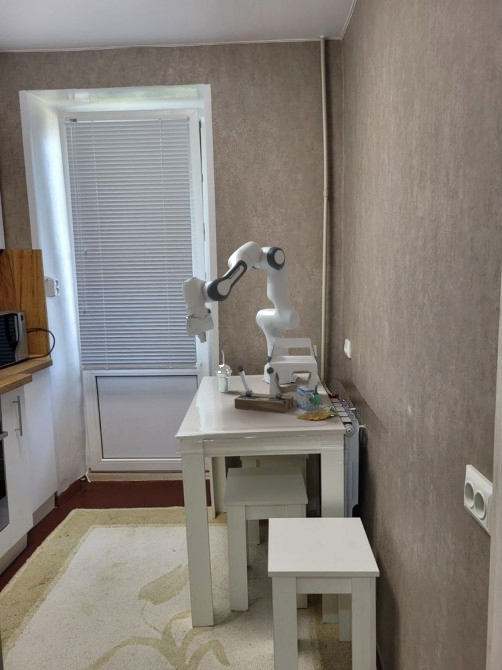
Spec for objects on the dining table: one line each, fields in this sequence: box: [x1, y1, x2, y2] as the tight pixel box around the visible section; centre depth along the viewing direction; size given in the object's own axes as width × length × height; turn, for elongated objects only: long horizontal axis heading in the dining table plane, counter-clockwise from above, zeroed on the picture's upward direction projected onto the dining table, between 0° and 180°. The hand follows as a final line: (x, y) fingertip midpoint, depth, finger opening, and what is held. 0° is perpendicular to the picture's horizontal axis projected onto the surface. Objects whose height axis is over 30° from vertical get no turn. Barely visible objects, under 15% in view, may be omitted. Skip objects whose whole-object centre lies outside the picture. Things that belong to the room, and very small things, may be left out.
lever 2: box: [267, 367, 283, 399], centre depth 207 cm, size 3×3×14 cm
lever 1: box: [236, 365, 254, 397], centre depth 213 cm, size 3×3×14 cm
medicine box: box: [296, 385, 315, 412], centre depth 207 cm, size 8×4×9 cm, turn 22°
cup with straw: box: [215, 349, 233, 393], centre depth 238 cm, size 8×9×20 cm
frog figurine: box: [296, 383, 340, 421], centre depth 193 cm, size 10×18×15 cm, turn 88°
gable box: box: [268, 337, 318, 401], centre depth 224 cm, size 22×13×28 cm, turn 85°
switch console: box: [234, 392, 294, 414], centre depth 210 cm, size 12×24×4 cm, turn 68°
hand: (203, 342), depth 222 cm, fingers closed
